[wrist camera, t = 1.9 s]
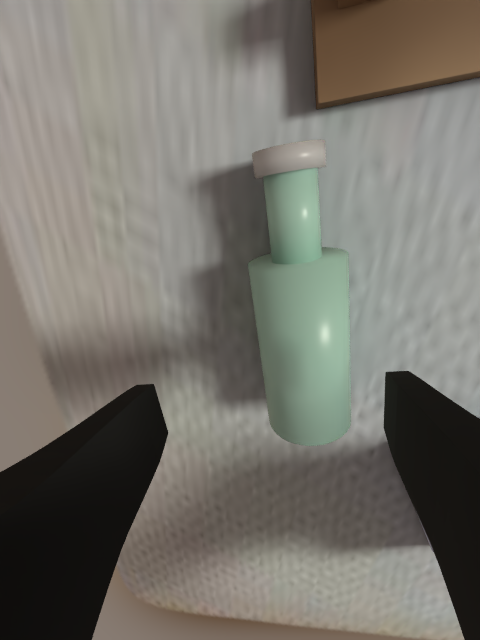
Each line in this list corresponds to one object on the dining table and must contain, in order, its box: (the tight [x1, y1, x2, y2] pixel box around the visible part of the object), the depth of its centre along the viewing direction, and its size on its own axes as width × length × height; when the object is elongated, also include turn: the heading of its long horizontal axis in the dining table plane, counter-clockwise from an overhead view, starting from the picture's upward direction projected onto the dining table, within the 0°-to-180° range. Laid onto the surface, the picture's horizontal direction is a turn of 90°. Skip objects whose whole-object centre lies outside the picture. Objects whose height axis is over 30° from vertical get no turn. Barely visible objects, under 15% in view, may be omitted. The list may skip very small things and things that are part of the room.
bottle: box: [248, 140, 351, 446], centre depth 14 cm, size 12×4×4 cm
